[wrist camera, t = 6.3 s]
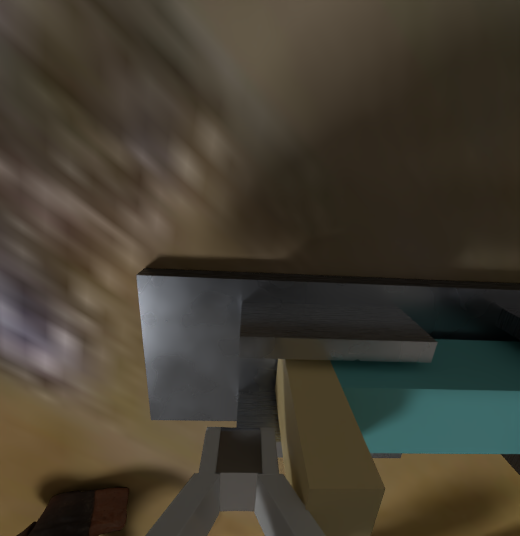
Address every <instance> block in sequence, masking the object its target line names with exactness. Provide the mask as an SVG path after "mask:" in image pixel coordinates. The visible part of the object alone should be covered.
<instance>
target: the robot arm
mask: <svg viewBox="0 0 520 536" xmlns="http://www.w3.org/2000/svg"><path fill="white" fill-rule="evenodd" d="M219 511H255V515H256V517H257V519H258V521H259V524H260V526H261V528H262V530H263V532H264V534H265V536H326V535H325V534H324V532H323V531H322V529H321V528H320V527H319V525H318V524H317V522H316V521H315V519H314V518H313V516H312V515H311V514H310V512H309V511H308V510H306V508H305V505H304V503H303V502H302V501H301V499H300V498H299V496H298V495H297V493H296V492H295V491H294V489H293V488H292V486H291V485H290V483H289V482H288V480H287V479H286V478H285V476H284V475H283V474H279V469H278V459H277V449H276V439H275V430H274V428H227V427H207V430H206V434H205V439H204V445H203V451H202V457H201V463H200V469H199V473H194V475H193V476H192V477H191V478H190V480H189V481H188V482H187V484H186V485H185V486H184V487H183V489H182V490H181V491H180V492H179V494H178V495H177V496H176V498H175V499H174V500H173V501H172V503H171V504H170V505H169V506H168V508H167V509H166V510H165V512H164V513H163V514H162V515H161V517H160V518H159V519H158V520H157V522H156V523H155V524H154V525H153V527H152V528H151V529H150V531H149V532H148V533H147V534H146V536H207V535H208V533H209V531H210V529H211V527H212V526H213V524H214V522H215V520H216V518H217V517H218V515H219Z"/></svg>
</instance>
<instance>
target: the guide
mask: <svg viewBox="0 0 520 536" xmlns="http://www.w3.org/2000/svg"><path fill="white" fill-rule="evenodd" d="M136 276H137V286H138V296H139V305H140V315H141V325H142V335H143V345H144V355H145V365H146V374H147V384H148V394H149V404H150V414H151V420H203V421H237V428H274V430H275V439H276V449H277V457H283V453H282V445H281V436H280V427H279V419H278V410H277V402H276V393H275V386H276V375H277V365H278V359H303V360H343V361H384V362H425V363H431V361H432V358H433V355H434V352H435V349H436V346H437V343H438V342H437V341H436V340H435V339H447V340H481V341H515V342H520V284H517V283H493V282H469V281H444V280H420V279H396V278H372V277H347V276H323V275H299V274H275V273H250V272H226V271H202V270H178V269H153V268H144V269H143V270H142V271H141V272H139V273H138V274H137V275H136ZM370 454H371V456H372V458H401V454H402V453H370ZM501 455H502V456H503V457H504V458H505V459H506V460H507V462H508V463H509V464H510V465H511V466H512V467H513V468H514V469H515V470H516V472H517V473H518V474H519V475H520V454H501Z"/></svg>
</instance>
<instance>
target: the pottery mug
mask: <svg viewBox="0 0 520 536" xmlns="http://www.w3.org/2000/svg"><path fill="white" fill-rule="evenodd" d="M128 494H129V489H128V488H119V487H117V488H106V489H102V490H90V491H84V492H81V491H72V492H67V493H62V494H58V495H56V496H53V497H52V498H51V500H50V502H49V504H48V506H47V507H46V509H45V510H44V512H43V514H42V515H41V517H40V518H39V519H38V521H37V522H33V523H32V524H31V525H30V526H28V527H27V528H26V529H25V530H24V531H23V532H21V533H20V534H18V535H17V536H98V535H101V534H105V533H109V532H112V531H119V530H121V529H122V528H123V527H124V526H125V523H126V518H127V511H126V509H127V503H128Z"/></svg>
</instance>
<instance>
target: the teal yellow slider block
mask: <svg viewBox="0 0 520 536" xmlns="http://www.w3.org/2000/svg"><path fill="white" fill-rule="evenodd" d="M435 340H436V341H437V342H438V343H437V346H436V349H435V352H434V355H433V358H432V361H431V363H425V362H384V361H343V360H303V359H278V365H277V375H276V386H275V393H276V402H277V410H278V419H279V427H280V436H281V445H282V453H283V462H284V470H285V478H286V479H287V480H288V482H289V483H290V485H291V486H292V488H293V489H294V491H295V492H296V493H297V495H298V496H299V498H300V499H301V501H302V502H303V503H304V505H305V508H306V510H308V511H309V512H310V514H311V515H312V516H313V518H314V519H315V521H316V522H317V524H318V525H319V527H320V528H321V529H322V531H323V532H324V534H325V535H326V536H371V533H372V530H373V527H374V523H375V520H376V517H377V514H378V511H379V507H380V504H381V501H382V498H383V495H384V491H385V487H384V484H383V482H382V480H381V477H380V475H379V473H378V470H377V468H376V466H375V463H374V461H373V459H372V456H371V454H370V453H432V454H520V342H515V341H481V340H447V339H435Z"/></svg>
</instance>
